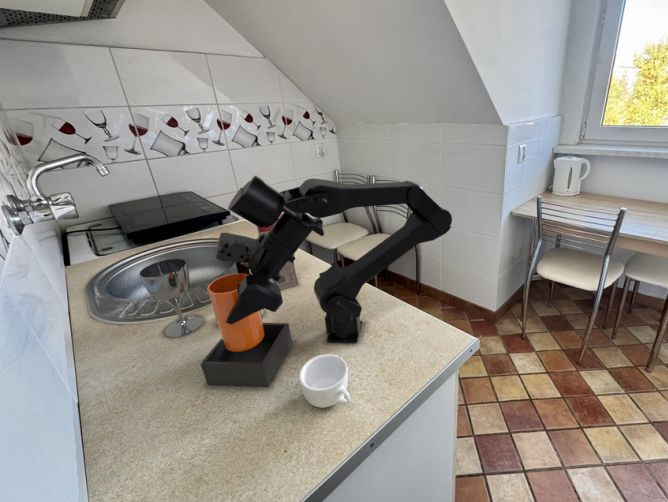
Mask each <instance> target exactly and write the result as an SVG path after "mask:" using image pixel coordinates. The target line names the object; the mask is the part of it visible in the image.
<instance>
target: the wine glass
mask: <svg viewBox="0 0 668 502" xmlns="http://www.w3.org/2000/svg"><path fill="white" fill-rule="evenodd" d="M188 267H189V266H188V265H187V262H186V260H184V259H182V258H181V259H180V258H171V259H165V260H164V259H163V260H159V261H157V262H154V263H151V264H150V265H147V266H146V267H144V268H142V270H140V271H139V278H140V279H141V283H142V284H143V286H144V288H145V289H146V291H147V292H148V294H149V296H151V297H152V298H153V299H155V300H157V301H160V302H163V303H166V304H168V305H170V306H171V307H172V308H173V309H174V311H175V313H176V315H177V317H178V320H175V321H174V322H172V323H170V324H169V325H168V326H167V327H166V328H165V330H164V335H165V336H166V337H168V338H179V337H183V336H186V335H188V334H191V333H193V332H195V331H197V329H199V328H200V327H201V326H202V324H203V319H202V318H201V317H199V316H195V315H193V316H187V317H184V315H183V312H182V307H181V303H182V300H183V298H184V297H185V295H186V293H187V292H188V291H189V288H190V282H191V281H190V280H191V278H190V272H189V268H188Z"/></svg>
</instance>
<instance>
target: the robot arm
mask: <svg viewBox="0 0 668 502" xmlns="http://www.w3.org/2000/svg"><path fill="white" fill-rule="evenodd" d="M392 205H393V206H395V205H406V206H407V207H408V209H409V210H410V211H411V213H410V214H409V215H408V217H407V219H406V221H405V223H404V225H403V226H401V227H400V228H399V229H398V230H396V231H395V232H393V233H392V234H390V235H389V236H388V237H386V238H385V239H384V240H382V241H381V242H380V243H378V244H377V245H375V246H374V247H373V248H372V249H370V250H368V251H367V252H366V253H365V254H363V255H362V256H361V257H359V258H358V259H357V260H355V261H354V262H352V263H351V264H349V265H346V266H342V267H340V266H339V265H338V263H337V262H336V263H333V264H331V266H330V267H329V268H327V269H326V270H324V271H323V272H320V273H318V275H319V276H318V278H316V280H315V281H314V285H313V292H314V294H315V297H316V300H317V302H318V305H319V307H320V308H321V310H322V311H323V312H324V313H325V316H324V323H325V324H324V326H325V330H326V332H325V333H326V334H327V337H326V342H327V343H344V344H345V343H346V344H347V343H348V344H349V343H350V344H352V343H353V344H357V343H358V342H359V340H360V335H361V331H362V327H363V324H364V323H363V321H362V320H361V313H362V310H363V307H362V306H361V304H360V303H359V301H358V299H357V297H358V295H359V293H360V291H361V289H362V288H363V286H364V285H365V284H366V283H368V282H369V281H370V280H372V279H373V278H375V277H376V276H377V275H378V274H380V273H381V272H382V271H383V270H385V269H387V268H388V267H389V266H390V265H392V264H393V263H395V262H396V261H397V260H398V259H400V258H401V257H402V256H404V255H405V254H406V253H408V252H409V251H411V250H412V249H413V248H414V247H416V246H418V245H420V244H423V243H429V242H432V241H435V240H437V239H438V238H441V237H443V236H444V235H446V234H448V232H449V231H450V230H451V228H452V224H453V216H452V214H451V213H450V211H449V210H448V209H445V208H443V207H442V206H440V204H438V203H436V201H434V199H433V198H431V197H430V196H429V195H428V194H427V193H426V192H425V190H424V189H423V188H422V186H421V185H419V184H417V183H415V182H413V181H411V180H404V181H398V182H397V181H396V182H394V181H393V182H374V183H372V182H371V183H351V184H350V183H343V182H339V181H335V180H329V179H321V178H307V179H305V180H304V181H303V182H302V183H301V184H300V186H297V187H293V188H289V189H285V190H281V191H278V190H277V189H275V188H273V187H271V186H270V185H269V184H267V183H266V182H265V181H264V180H263V179H262V178H260V177H259V176H257V175H253V177H252V178H251V179H250V180H249V181H248V182H246V183H245V184H244V185H243V186H242V187H240V188H239V189H238V191H237V192H236V193H235V195H234V196H233V198H232V199H231V201H230V202H229V205H228V207H227V210H229V211H230V212H232V213H234V214H235V215H238V216H239V217H241V218H242V219H244V220H246V221H247V222H249V223H251V224H253V225H254V226H256V227H257V226H258V227H259V228H262V227H264V226H265V227H266V228H267V227H269V226H272V225H273V224H274V223H275V222H276V221H277V219H278V218H279V216H280V215H281V214H282V215H281V217H280V218H279V219H278V221H277V222H276V223H275V224H274V226H273V227H272V228H271V230H270V231H269V232H268V233H267V234H265V233H263V234H260V235H259V234H258V236H257V238H254V237H249V236H245V235H240V234H236V233H232V232H231V233H230V232H221V233H220V234H219V237H218V242H217V244H216V249H215V259H216V260H218V261H221V262H226V261H227V262H234V263H235V267H236V270H237V272H236V273H244V274H248V275H249V276H246V277H245V278H244V279H243V281H242V282H241V284H240V285H239V284H237V292H238V295H239V298H238V299H237V301H236V303H235V305H234V306H233V308H232V310H231V312H230V314H229V316H228V318H227V320H226V323H228V324H234V323H236V322H238V321H240V320H241V319H243V318H245V317H247V316H249V315H251V314H253V313H255V312H258V311H260V310H262V309H263V310H267V311H270V312H272V313H276V312H278V310H279V308H280V307H281V306H282V304H283V303H284V301H283V296H282V293H281V290H280V288H279V286H278V285H276V284H274V283H272V282H270V281H269V280H270V279H273V280H275V281H277V282H278V281H279V279H280V278H281V275H280V272H281V270H282V269H283V268H284V266H285V265H286V264H287V263H288V261H289V262H291V263H293V261H294V262H295V260H297V259H296V256H295V255H296V253H297V251H298V250H299V249H300V247H301V246H302V244H303V243H304V242H306V240H307V238H308V237H309V235H311V233H313V232H314V233H315V234H317V235H318V236H320V237H324V236H325V231H324V228H323V227H324V225H323V224H324V221H323V220H322V219H324V218H328V217H332V216H336V215H340V214H342V213H344V212H346V211H348V210H351V209H354V208H355V209H356V208H366V207H379V206H380V207H381V206H392Z"/></svg>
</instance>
